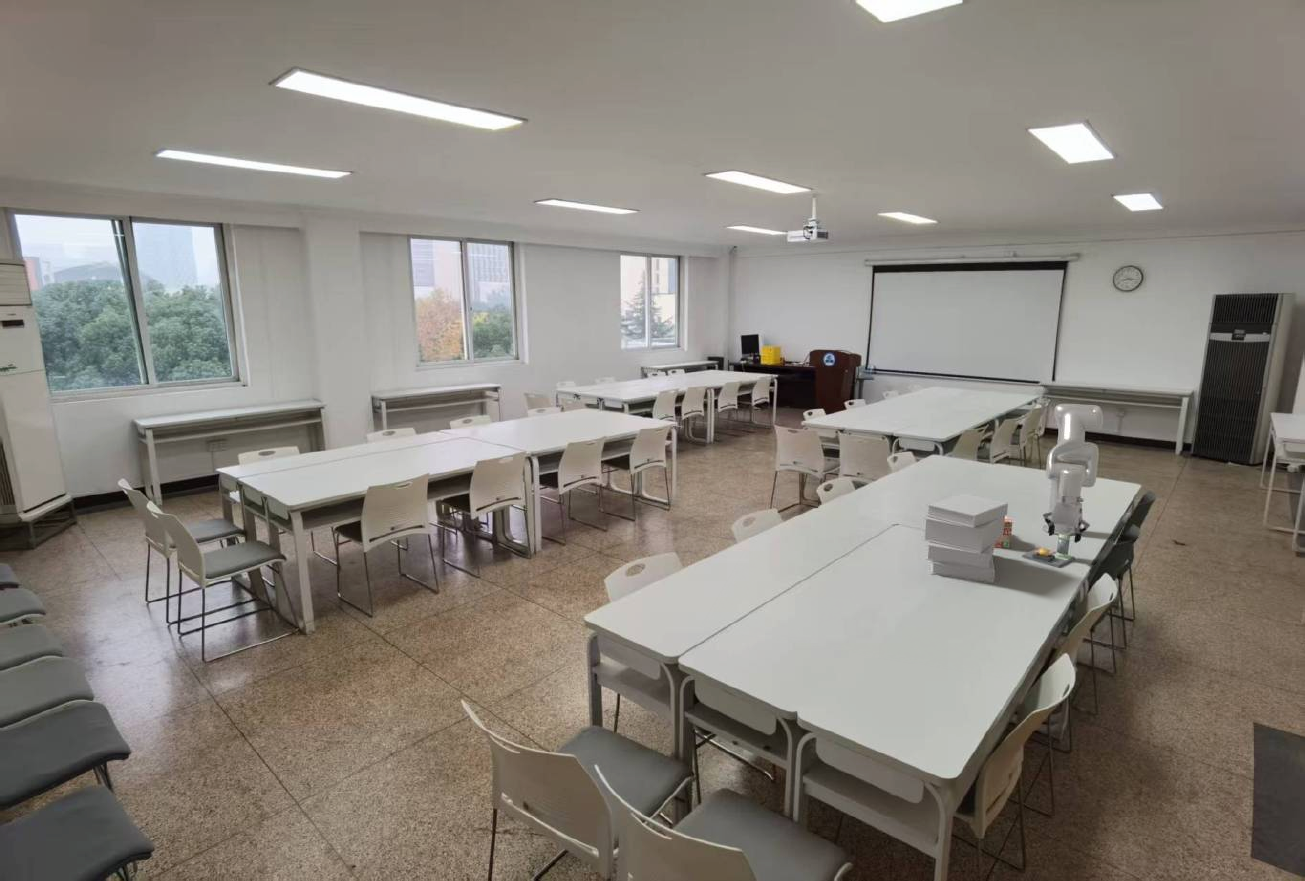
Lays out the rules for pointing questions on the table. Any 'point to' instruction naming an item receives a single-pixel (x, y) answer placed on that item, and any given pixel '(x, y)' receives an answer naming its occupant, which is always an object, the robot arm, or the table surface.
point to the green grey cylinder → (1063, 545)
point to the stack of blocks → (1005, 535)
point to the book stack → (964, 536)
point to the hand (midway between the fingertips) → (1063, 538)
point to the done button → (1044, 552)
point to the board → (1048, 558)
